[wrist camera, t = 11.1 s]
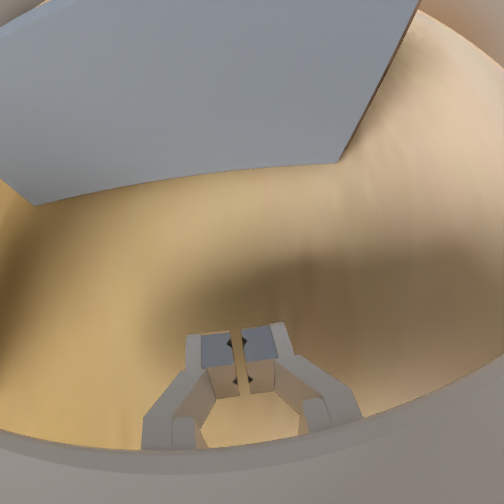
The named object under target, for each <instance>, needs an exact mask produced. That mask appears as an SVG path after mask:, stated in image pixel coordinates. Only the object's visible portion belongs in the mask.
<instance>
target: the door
mask: <svg viewBox="0 0 504 504" xmlns="http://www.w3.org/2000/svg"><path fill="white" fill-rule="evenodd" d="M417 3H418V0H51V1H49V2H47V3H45V4H42V5H40V6H38V7H36V8H34V9H32V10H31V11H28V12H27V13H25V14H23V15H21V16H19V17H18V18H16V19H14V20H12V21H11V22H9V23H7V24H6V25H4V26H2V27H0V179H2V180H3V181H4V182H5V183H6V184H8V185H9V186H10V187H11V188H12V189H14V190H15V191H16V192H17V193H19V194H20V195H21V196H22V197H24V198H25V199H26V200H28V201H29V202H30V203H31V204H33V205H34V206H38V205H42V204H46V203H49V202H54V201H58V200H62V199H66V198H70V197H75V196H79V195H84V194H88V193H93V192H98V191H103V190H108V189H113V188H118V187H123V186H129V185H134V184H140V183H146V182H152V181H158V180H165V179H171V178H178V177H185V176H192V175H200V174H208V173H216V172H225V171H234V170H243V169H254V168H265V167H278V166H292V165H308V164H329V163H337V162H338V160H339V158H340V156H341V154H342V152H343V150H344V148H345V147H346V145H347V143H348V141H349V139H350V137H351V135H352V133H353V132H354V130H355V128H356V126H357V124H358V122H359V120H360V118H361V116H362V114H363V112H364V111H365V109H366V107H367V105H368V103H369V101H370V99H371V97H372V95H373V93H374V91H375V89H376V87H377V85H378V83H379V81H380V79H381V77H382V75H383V73H384V71H385V69H386V67H387V65H388V63H389V61H390V59H391V57H392V55H393V53H394V51H395V49H396V47H397V45H398V43H399V41H400V39H401V37H402V35H403V32H404V30H405V28H406V26H407V24H408V22H409V20H410V18H411V16H412V13H413V11H414V9H415V7H416V5H417Z"/></svg>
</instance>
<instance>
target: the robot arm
mask: <svg viewBox="0 0 504 504" xmlns="http://www.w3.org/2000/svg"><path fill="white" fill-rule="evenodd" d="M240 329H241V337H242V343H243V351H244V358H245V364H246V370H247V376H248V382H249V387H250V392H251V394H257V393H265V392H272V391H275V393H277V394H278V395H279V396H280V397H281V398H282V399H283V400H284V401H285V402H286V403H287V404H288V405H289V406H290V407H291V408H293V409H294V410H295V411H296V412H297V413H298V414H299V415H300V422H299V429H298V436H294V437H289V438H283V439H278V440H272V441H266V442H260V443H254V444H246V445H239V446H230V447H220V448H208V446H207V444H206V442H205V440H204V438H203V436H202V434H201V432H200V429H201V427H202V425H203V424H204V422H205V420H206V418H207V416H208V415H209V413H210V411H211V409H212V407H213V406H214V404H215V402H216V399H222V398H229V397H236V396H240V393H239V386H238V379H237V373H236V365H235V358H234V352H233V346H232V340H231V334H230V330H226V331H216V332H206V333H199V334H187V336H186V352H185V370H183V371H180V373H179V374H178V375H177V376H176V378H175V379H174V380H173V381H172V383H171V384H170V385H169V386H168V388H167V389H166V390H165V391H164V393H163V394H162V395H161V396H160V397H159V399H158V400H157V401H156V402H155V404H154V405H153V406H152V407H151V409H150V410H149V411H148V412H147V414H146V415H145V416H144V418H143V429H142V442H141V450H124V449H109V448H98V447H88V446H80V445H73V444H66V443H60V442H54V441H49V440H44V439H39V438H34V437H30V436H25V435H21V434H17V433H13V432H9V431H6V430H2V429H0V504H504V354H503V355H501V356H499V357H498V358H496V359H494V360H493V361H491V362H489V363H488V364H486V365H484V366H482V367H481V368H479V369H477V370H475V371H473V372H472V373H470V374H468V375H466V376H464V377H462V378H460V379H458V380H456V381H454V382H452V383H450V384H448V385H446V386H444V387H442V388H440V389H438V390H435V391H433V392H431V393H429V394H426V395H424V396H422V397H419V398H417V399H415V400H412V401H410V402H407V403H405V404H402V405H400V406H397V407H394V408H392V409H389V410H386V411H383V412H381V413H378V414H375V415H372V416H369V417H366V418H363V416H362V413H361V411H360V409H359V407H358V404H357V402H356V400H355V397H354V395H353V393H352V391H351V388H349V387H348V386H346V385H345V384H343V383H342V382H340V381H338V380H337V379H335V378H334V377H332V376H331V375H329V374H328V373H326V372H325V371H323V370H322V369H320V368H319V367H317V366H316V365H314V364H313V363H311V362H310V361H308V360H307V359H306V358H304V357H303V356H301V355H300V354H299V355H295V353H294V350H293V347H292V344H291V341H290V338H289V335H288V332H287V329H286V326H285V323H284V322H283V321H282V322H277V323H271V324H266V325H259V326H253V327H247V328H240Z"/></svg>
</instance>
